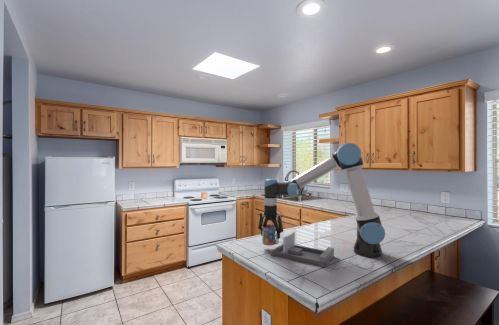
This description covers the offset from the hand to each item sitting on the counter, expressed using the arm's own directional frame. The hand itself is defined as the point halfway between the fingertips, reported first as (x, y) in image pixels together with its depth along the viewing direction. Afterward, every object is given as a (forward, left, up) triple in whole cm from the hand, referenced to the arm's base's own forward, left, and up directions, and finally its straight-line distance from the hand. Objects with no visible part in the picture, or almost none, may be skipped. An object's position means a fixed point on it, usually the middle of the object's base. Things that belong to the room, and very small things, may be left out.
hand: (270, 242), depth 153 cm
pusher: (-15, 0, -3) cm, 15 cm away
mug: (-1, 0, -1) cm, 1 cm away
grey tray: (-20, 0, -4) cm, 21 cm away
